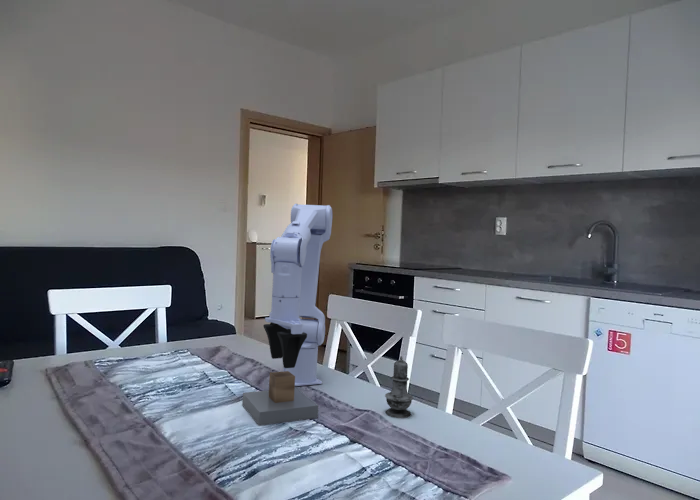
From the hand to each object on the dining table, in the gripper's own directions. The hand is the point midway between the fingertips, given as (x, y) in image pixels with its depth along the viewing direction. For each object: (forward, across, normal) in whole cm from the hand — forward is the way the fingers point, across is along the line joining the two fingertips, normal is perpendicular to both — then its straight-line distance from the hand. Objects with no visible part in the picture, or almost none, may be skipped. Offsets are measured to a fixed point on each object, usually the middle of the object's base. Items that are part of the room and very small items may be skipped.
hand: (282, 362), depth 99 cm
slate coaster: (+10, 0, 0) cm, 10 cm away
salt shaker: (+10, +9, +23) cm, 26 cm away
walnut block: (+7, 0, 0) cm, 7 cm away
